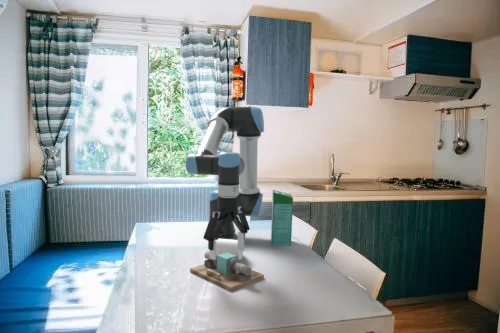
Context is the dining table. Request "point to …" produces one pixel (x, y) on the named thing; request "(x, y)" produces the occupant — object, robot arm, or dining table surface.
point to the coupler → (224, 262)
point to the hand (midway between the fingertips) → (227, 254)
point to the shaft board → (230, 282)
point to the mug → (228, 247)
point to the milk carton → (281, 218)
